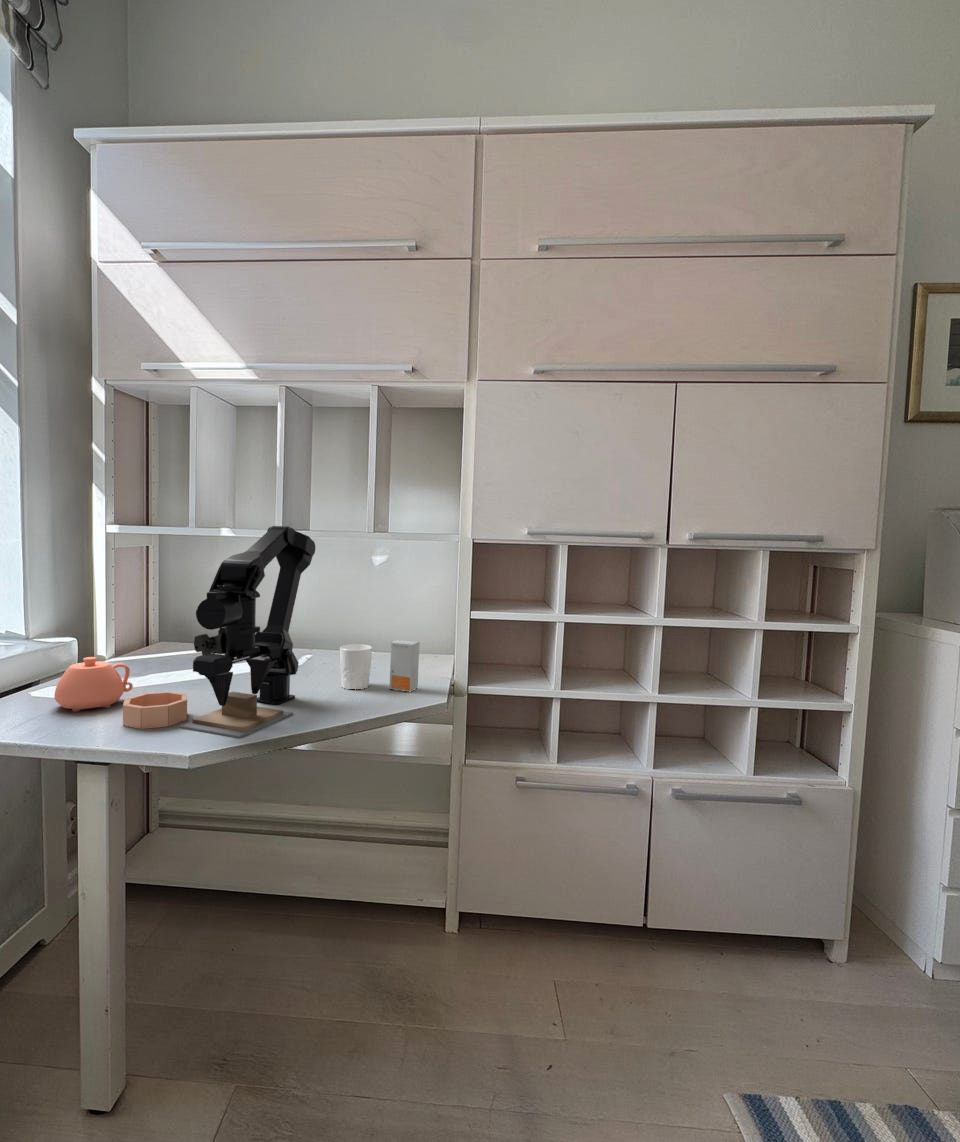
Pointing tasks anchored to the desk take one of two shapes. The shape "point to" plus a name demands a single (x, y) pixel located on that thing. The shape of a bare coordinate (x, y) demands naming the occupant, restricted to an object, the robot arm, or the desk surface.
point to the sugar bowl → (91, 685)
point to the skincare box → (404, 665)
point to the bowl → (155, 709)
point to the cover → (238, 713)
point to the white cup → (355, 666)
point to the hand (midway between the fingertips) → (239, 699)
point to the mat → (231, 732)
